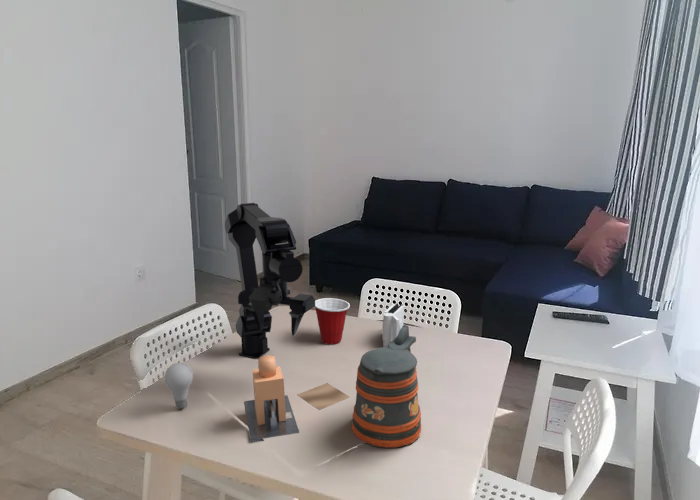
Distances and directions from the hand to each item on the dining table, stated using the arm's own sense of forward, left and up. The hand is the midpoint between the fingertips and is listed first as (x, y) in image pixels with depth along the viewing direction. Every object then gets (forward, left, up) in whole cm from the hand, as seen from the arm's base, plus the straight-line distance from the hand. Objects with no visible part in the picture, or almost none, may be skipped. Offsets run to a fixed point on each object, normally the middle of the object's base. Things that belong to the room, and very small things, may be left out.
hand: (277, 332), depth 130 cm
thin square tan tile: (+14, -3, -13) cm, 19 cm away
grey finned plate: (+7, -16, -13) cm, 22 cm away
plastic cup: (+2, +28, -13) cm, 31 cm away
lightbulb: (-14, -20, -13) cm, 28 cm away
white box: (+20, +33, -13) cm, 41 cm away
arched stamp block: (+7, -16, -12) cm, 21 cm away
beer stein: (+32, -8, -13) cm, 36 cm away
